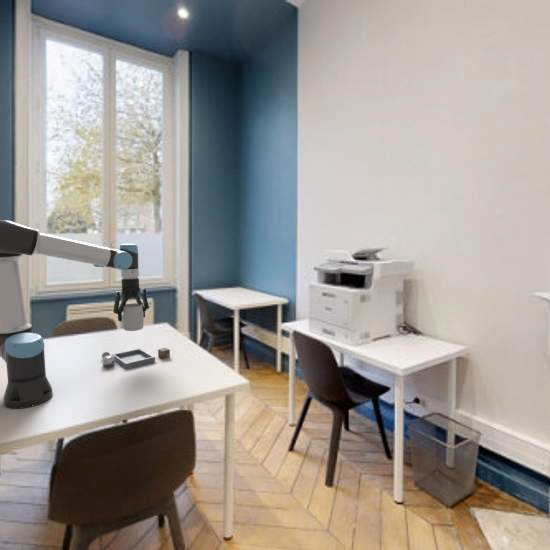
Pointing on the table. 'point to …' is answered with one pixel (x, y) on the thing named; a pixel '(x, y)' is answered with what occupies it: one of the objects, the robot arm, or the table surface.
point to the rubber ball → (105, 354)
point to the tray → (133, 358)
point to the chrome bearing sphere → (108, 361)
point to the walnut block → (164, 353)
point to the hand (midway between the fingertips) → (132, 326)
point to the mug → (133, 317)
